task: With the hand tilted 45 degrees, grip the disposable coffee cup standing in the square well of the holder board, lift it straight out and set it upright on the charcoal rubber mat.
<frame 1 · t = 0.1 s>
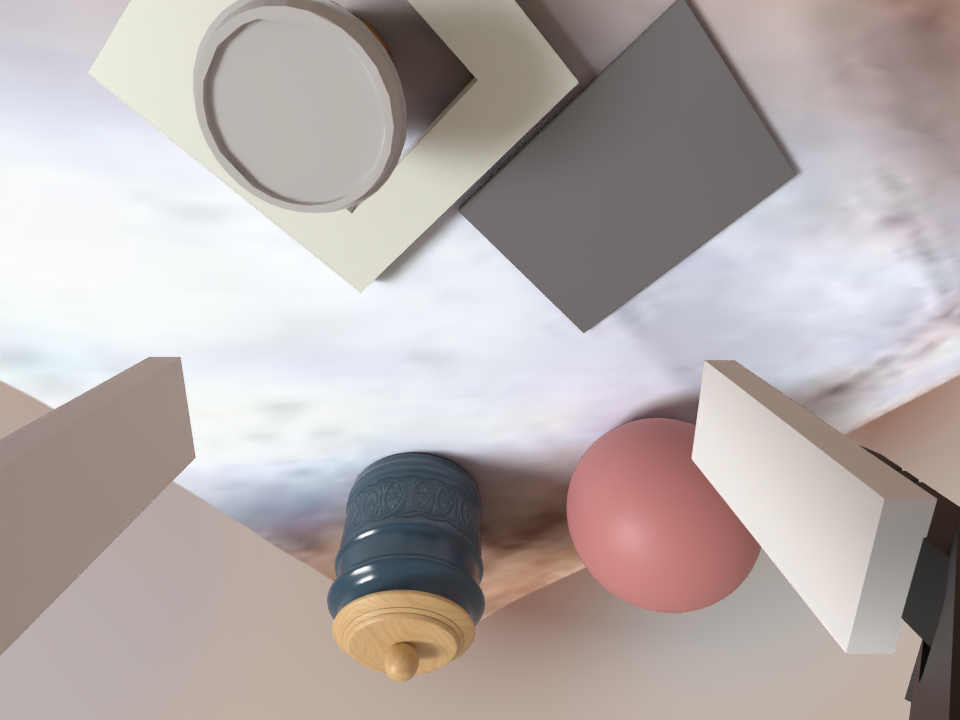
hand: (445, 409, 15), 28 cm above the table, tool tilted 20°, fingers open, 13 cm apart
rubber mat: (623, 190, 40), on the table
canister: (416, 494, 58), on the table
disposable coffee cup: (343, 71, 35), resting in holder board
balloon: (658, 431, 53), on the table
holder board: (342, 71, 35), on the table
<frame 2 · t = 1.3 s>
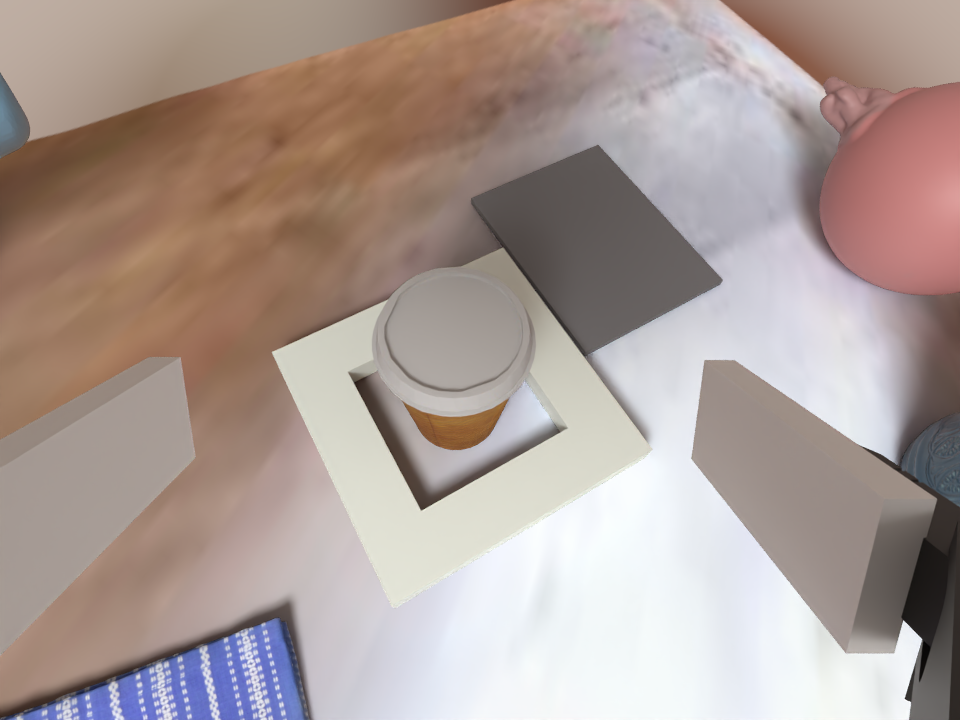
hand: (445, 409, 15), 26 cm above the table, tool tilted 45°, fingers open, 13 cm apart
rubber mat: (591, 242, 51), on the table
disposable coffee cup: (456, 411, 43), resting in holder board
balloon: (852, 239, 52), on the table
holder board: (456, 409, 43), on the table
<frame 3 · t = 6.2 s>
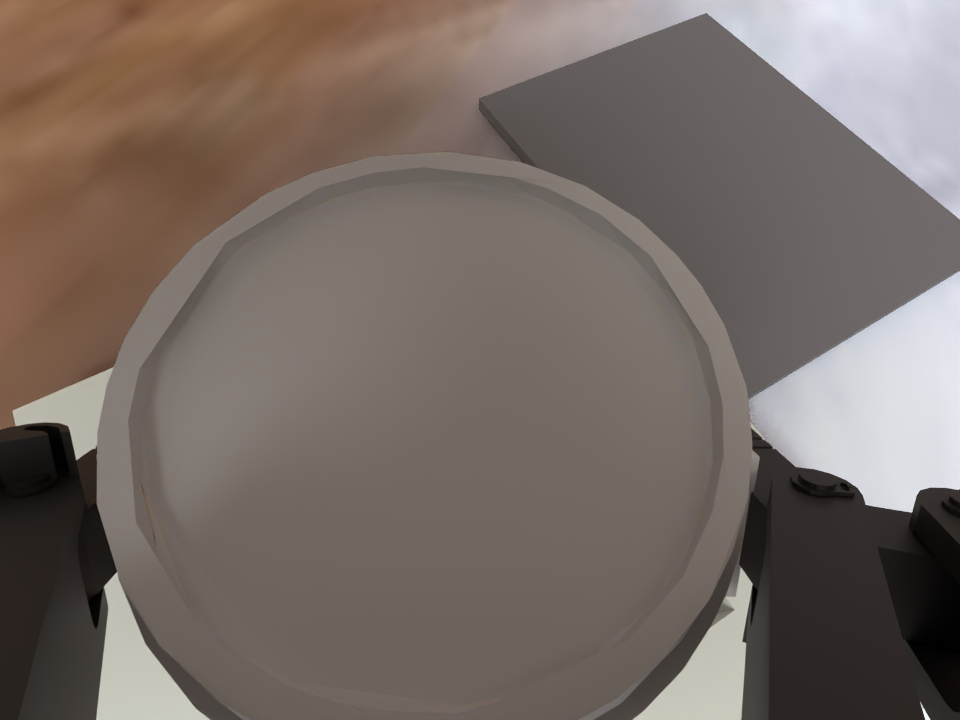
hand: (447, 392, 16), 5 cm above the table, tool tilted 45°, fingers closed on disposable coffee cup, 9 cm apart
rubber mat: (713, 178, 26), on the table
disposable coffee cup: (449, 544, 19), resting in holder board, touching gripper
holder board: (448, 543, 18), on the table
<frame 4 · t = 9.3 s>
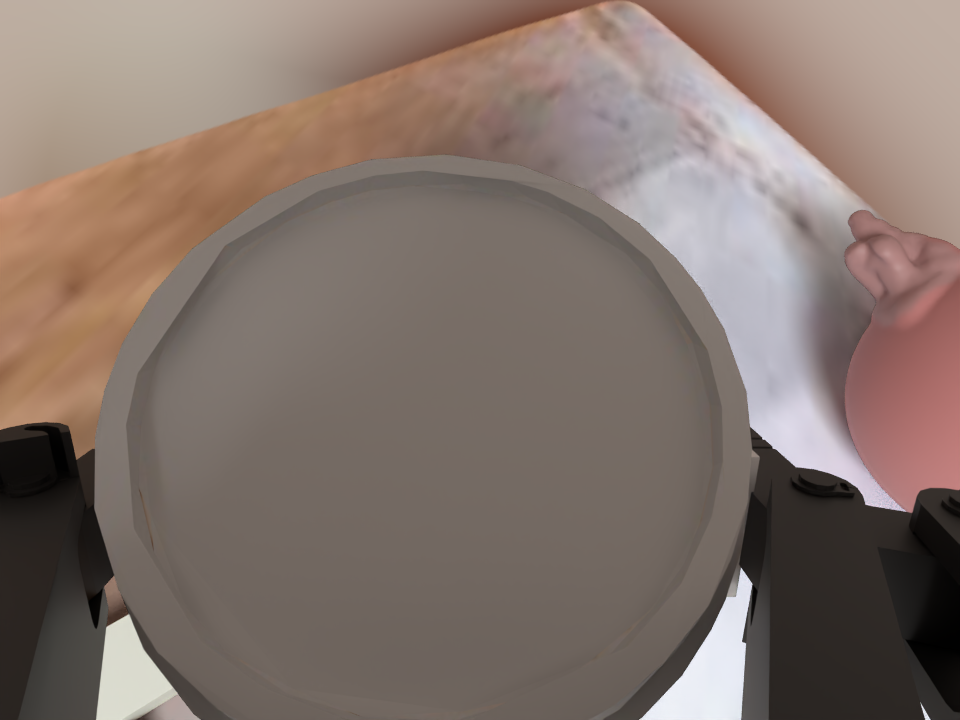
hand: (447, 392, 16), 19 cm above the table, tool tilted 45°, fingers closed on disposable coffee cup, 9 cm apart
disposable coffee cup: (448, 546, 19), point 14 cm above the table, touching gripper
balloon: (888, 421, 36), on the table
when the fingers open (7 cm above the table, at t = 12.8 s): disposable coffee cup drops 1 cm, resting on rubber mat.
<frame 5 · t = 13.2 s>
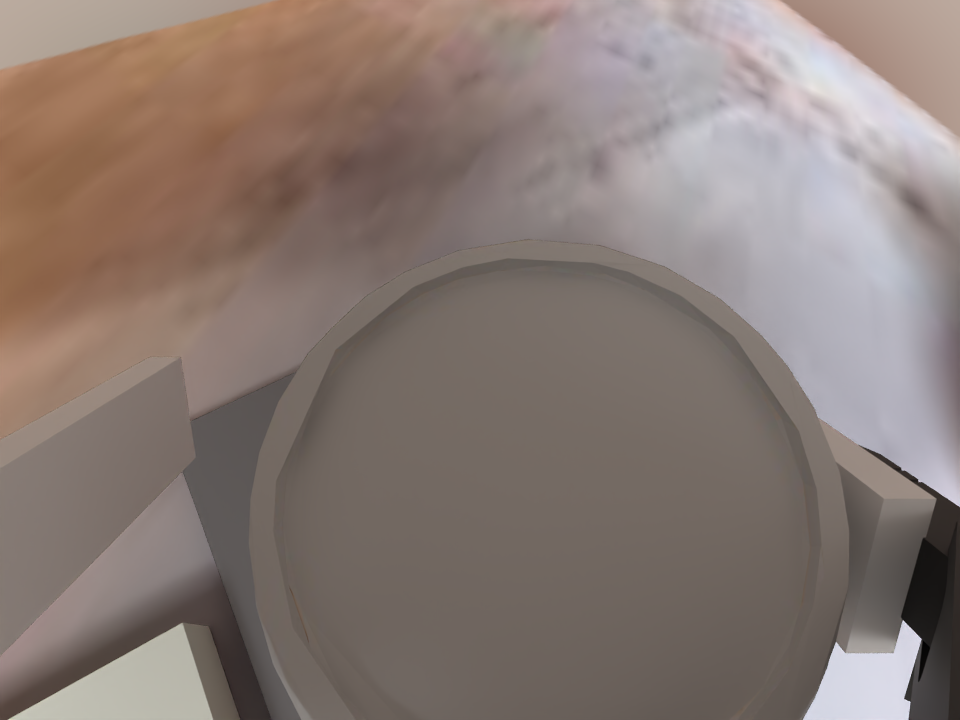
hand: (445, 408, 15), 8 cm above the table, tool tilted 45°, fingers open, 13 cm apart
rubber mat: (450, 554, 20), on the table
disposable coffee cup: (529, 566, 19), point 1 cm above the table, touching gripper, rubber mat
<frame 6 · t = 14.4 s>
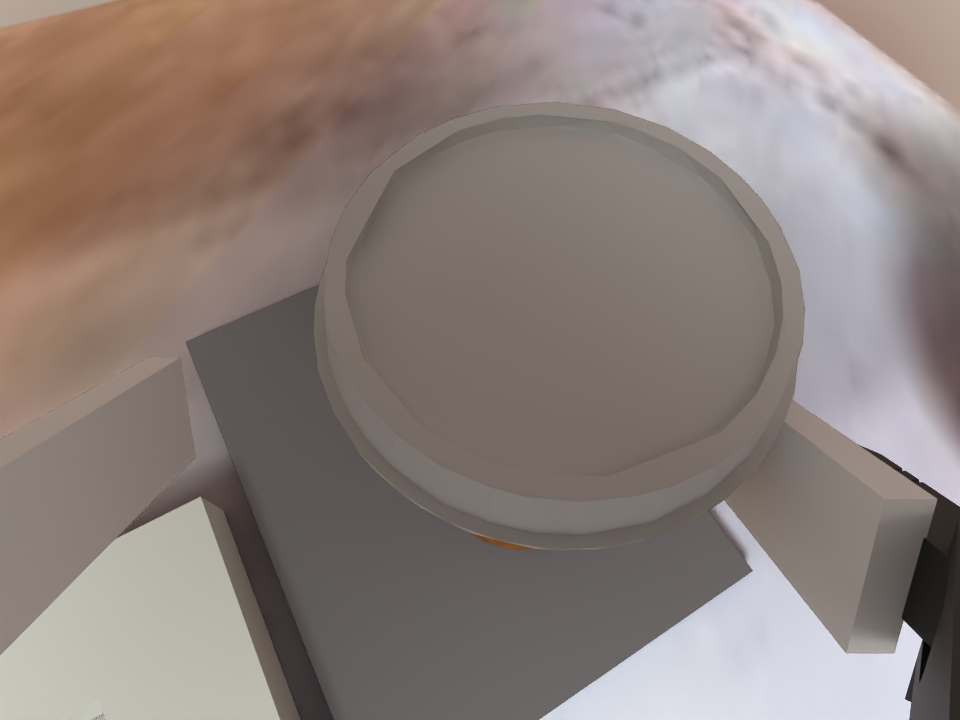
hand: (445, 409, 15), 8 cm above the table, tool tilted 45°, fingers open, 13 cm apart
rubber mat: (446, 451, 22), on the table
disposable coffee cup: (517, 462, 21), resting on rubber mat, touching gripper
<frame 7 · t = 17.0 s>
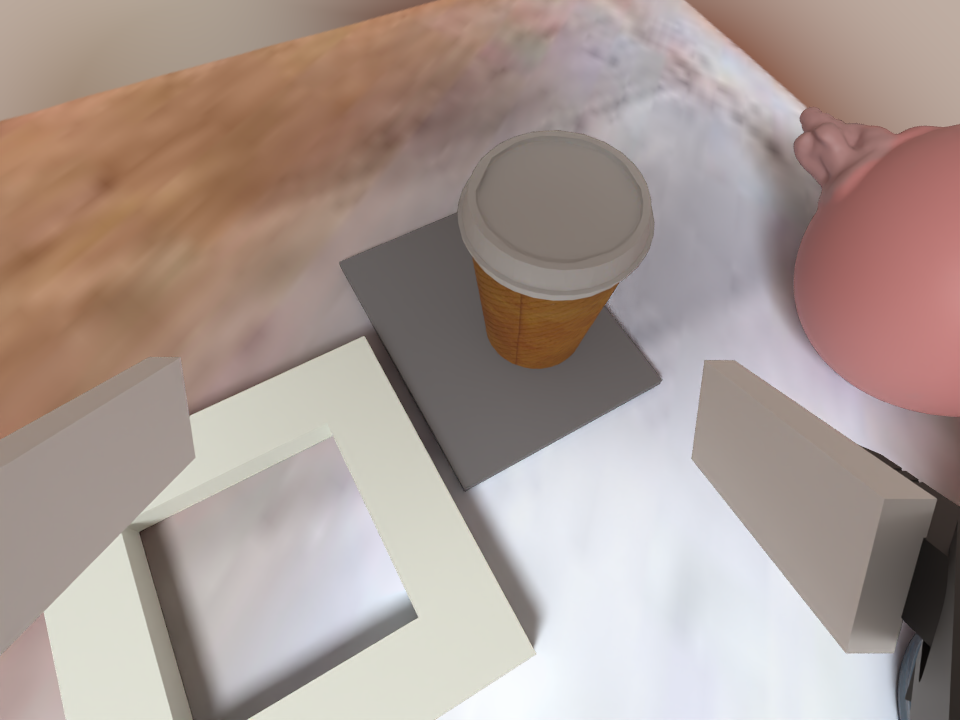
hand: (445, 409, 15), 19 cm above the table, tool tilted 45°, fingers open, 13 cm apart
rubber mat: (492, 322, 38), on the table
disposable coffee cup: (533, 327, 38), resting on rubber mat
balloon: (841, 318, 39), on the table
holder board: (276, 574, 31), on the table
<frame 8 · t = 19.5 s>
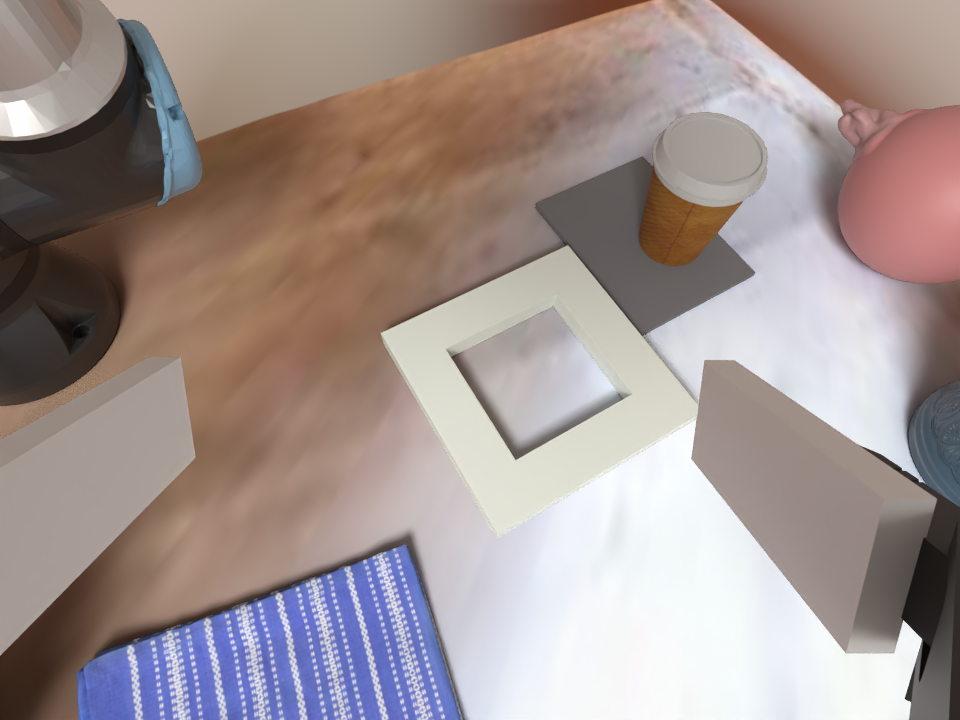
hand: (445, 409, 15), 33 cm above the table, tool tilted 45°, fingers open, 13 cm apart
rubber mat: (640, 240, 59), on the table
disposable coffee cup: (668, 242, 58), resting on rubber mat
balloon: (865, 237, 60), on the table
holder board: (534, 381, 51), on the table
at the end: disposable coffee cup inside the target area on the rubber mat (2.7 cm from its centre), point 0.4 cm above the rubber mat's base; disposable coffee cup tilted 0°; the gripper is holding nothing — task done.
